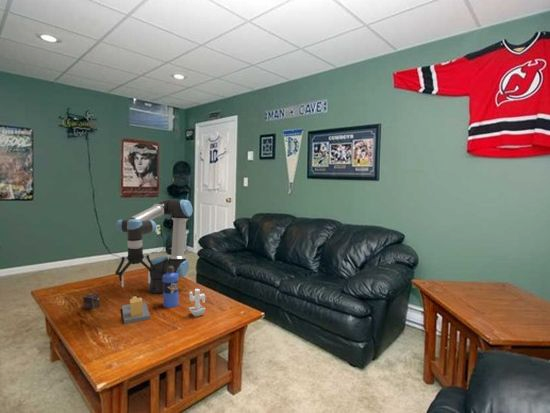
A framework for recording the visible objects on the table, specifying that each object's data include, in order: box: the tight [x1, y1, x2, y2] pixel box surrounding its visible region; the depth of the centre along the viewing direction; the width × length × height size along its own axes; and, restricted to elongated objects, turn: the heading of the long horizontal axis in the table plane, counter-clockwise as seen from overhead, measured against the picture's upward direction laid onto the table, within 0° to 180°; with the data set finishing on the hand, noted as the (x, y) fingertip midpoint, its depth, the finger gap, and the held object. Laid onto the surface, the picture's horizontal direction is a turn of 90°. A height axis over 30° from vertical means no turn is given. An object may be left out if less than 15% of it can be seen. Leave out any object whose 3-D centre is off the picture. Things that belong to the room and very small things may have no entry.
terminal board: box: [121, 296, 151, 325], centre depth 176 cm, size 13×22×8 cm, turn 29°
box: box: [82, 293, 100, 310], centre depth 184 cm, size 6×6×7 cm
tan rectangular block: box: [129, 297, 144, 317], centre depth 171 cm, size 6×6×8 cm
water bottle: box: [162, 265, 179, 309], centre depth 189 cm, size 9×9×25 cm
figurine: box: [188, 288, 207, 317], centre depth 177 cm, size 7×9×15 cm
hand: (136, 284), depth 171 cm, fingers open, 13 cm apart
